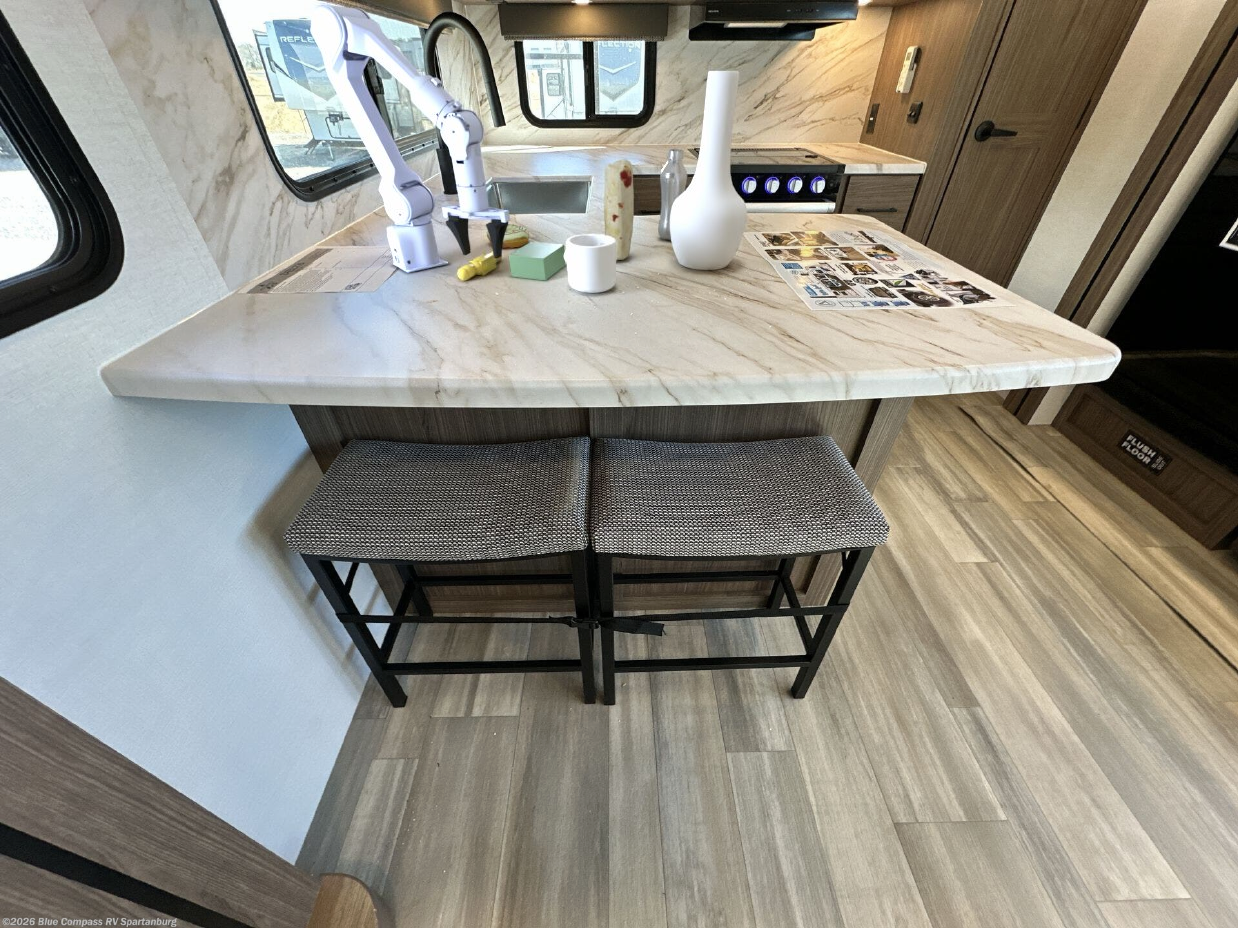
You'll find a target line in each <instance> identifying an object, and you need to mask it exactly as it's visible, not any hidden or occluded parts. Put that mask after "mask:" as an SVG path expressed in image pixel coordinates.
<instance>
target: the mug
mask: <svg viewBox="0 0 1238 928" xmlns="http://www.w3.org/2000/svg"><path fill="white" fill-rule="evenodd" d="M565 248H566V249H565V253H564V259H565V263H566V264H567V265H566V270H567V278H568V279H567V280H568V284H569V287H571V288H572V289H574V290H575V291H578V292H580V293H587V294H597V293H604V292H607V291H609V290H611V289H613V288H614V287H615V285H616V283H617V260H616V240H615V239H614V238H613V237H611V236H607V235H605V234H602V233H601V234H600V233H584V234H583V233H582V234H576V235H572V236H570V237H568V238H567V239H566V242H565Z"/></svg>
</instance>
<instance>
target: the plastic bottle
mask: <svg viewBox="0 0 1238 928" xmlns="http://www.w3.org/2000/svg"><path fill="white" fill-rule="evenodd" d="M666 155H667V156H666V159H667V162H666V163H665V165H664V166H663V167H662V169H661V171H660V175H659V177H660V178H659V179H660V189H661V190H660V191H661V207H660V214H659V220H658V226H657V233H658V235H659V237H660V238H661V239H663V240H667V241H668V240H669V241H671V234H670V214H671V209H672V206H673V203H674V202H675V200H676V199H677V198H678V197H679V196H680V195H681V194H682V193H683V192H684V191H686V186H687V185H686V184H687V180H688V173H687V170H686V167H685V165H684V164H683V160H684V149H680V148H669V149H667V154H666Z"/></svg>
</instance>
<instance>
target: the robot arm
mask: <svg viewBox="0 0 1238 928" xmlns="http://www.w3.org/2000/svg"><path fill="white" fill-rule="evenodd" d="M309 32H310V34H311V36H312V38H313V40H314V42H315V43H316V45H317V47H318V49H319V51H320V52H321V56H322V60H323V64H324V68H325V71H326V74H327V78H328V80H329V81H330V84H331V85H332V86H333V88H334V91H335V92H336V94H337V96H338V98H339V100H340V102H341V103H342V105H343V107H344V109H345V111H346V113H347V115H348V116H349V119H350V120H351V123H352V124H353V126H354V128H355V130H356V131H357V133H358V135H359V137H360V139H361V141H362V143H363V144H364V146H365V148H366V150H367V153H368V154H369V156H370V158H371V159H372V161H373V163H374V165H375V167H376V169H377V171H378V172H379V174H380V176H381V179H380V183H379V186H378V192H379V194H380V195H381V197H382V201H383V206H384V209H385V212H386V214H387V215H388V217H389V218H390V219H391V221H393V222H394V224H393V225H389V226H387V228H386V237H387V240H388V241H387V242H388V245H389V248H390V253H391V256H392V260H393V261H392V264H393V265H394V266H396V267H397V268H399V269H401V270H402V271H404V272H406V273H413V272H419V271H422V270H427V269H431V268H437V267H440V266H445V265H448V261H446V260H444V259H442V258H440V254H439V250H438V244H437V240H436V235H435V230H434V226H433V221H432V219H433V212H434V211H435V208H436V200H435V196H434V195H433V193H432V191H431V190H430V189H429V188H428V187H427V185H425V183H424V182H423V181H422V178H421V177H420V175H419V174H418V173H416V172H415V171H413V170H412V169H411V168H409V167H408V166H407V164H406V161H405V160H404V158H403V156H402V154H401V152H400V150H399V149H398V146H397V144H396V143H395V140H394V138H393V137H392V134H391V133H390V131H389V129H388V127H387V125H386V123H385V120H384V119H383V117H382V115H381V114H380V111H379V109H378V107H377V105H376V103H375V101H374V99H373V97H372V95H371V94H370V91H369V90H368V87H367V85H366V84H365V82H364V80H363V74H364V69H365V68H366V65H367V64H368V62H369V60H370V58H373V59H374V61H376V62H377V63H378V64H379V65H381V66H382V67H383V69H385V70H386V71H387V72H388V73H389V74H391V75H392V76H393V77H394V78H395V79H396V80H397V81H398V82H399V83H401V84H402V85H403V86H404V87H405V88H406V89H407V90H408V91H409V93H410V99H411V102H412V103H413V105H414V106H415V107H416V108H417V109H418V110H420V111H421V112H422V114H424V116H426V118H428V120H430V121H431V123H433V125H435V127H436V128H438V129H439V132H440V136H441V139H442V140H443V142H444V144H445V145H446V146H447V147H448V150H449V156H450V157H451V162H452V166H453V173H454V179H455V185H456V191H457V195H458V203H459V205H445V206H442V207H441V210H442V216H443V218H447V220H446V221H445V225H446V227H447V228H448V230H450V231H451V233H452V235H453V236H454V237H455V241H456V242H457V244H458V246H459V249H460V251H461V254H462V255H463V256H467V255H470V254H472V253H471V252H472V249H471V242H470V235H469V219H470V220H482V221H490V222H488V223H486V224H485V227H486V230H487V231H488V232H489V235H490V238H491V242H492V243H491V242H490V243H491V248H492V250H493V255H494V258H499V257H501V256H502V257H503V247H502V246H503V240H504V235H505V232H506V229H507V226H508V224H509V222H510V221H511V216H510V210H509V209H501V208H497V207H491V206H490V204H489V197H488V196H489V195H488V190H487V182H486V176H485V175H486V174H485V170H484V161H483V156H482V155H483V154H482V148H481V143H482V141H483V140H484V135H485V132H484V131H485V130H484V125H483V123H482V120H481V119H480V117H479V116H478V114H477V113H476V111H474V110H471V109H465V108H463V104H462V103H461V102H460V101H459V100H455V99H454V98H453V97H452V96H451V94H450V93H449V92H448V91H447V90H445V88H444V87H443V86H442V85H443V82H442V80H441V79H439V78H438V77H433V76H432V75H430V74H424V75H422V74H421V73H420V72H419V71H418V70H417V69H416V68H415V66H413V64H412V63H411V62H410V61H409V60H408V58H407V57H405V55H404V54H403V53H402V52H401V51H400V50H399V49H398V48H397V46H395V43H393V42H392V41H391V39H390V38H388V37H387V35H386V34H385V33H384V32H383V30H382V28H381V25H380V24H379V23H378V22H377V21H376V20H374V19H373V18H372V17H371V16H370V15H369V14H368V12H366V11H365V10H364V9H363V8H360V7H348V6H347V7H346V6H339V5H331V4H329V3H325V2H319V3H318V4H316V5H315V6H314V7H313V9H312V13H311V20H310V31H309Z"/></svg>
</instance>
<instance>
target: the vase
mask: <svg viewBox="0 0 1238 928" xmlns="http://www.w3.org/2000/svg"><path fill="white" fill-rule="evenodd" d="M706 79H707V80H706V89H705V101H704V112H703V119H702V120H703V122H702V131H701V138H700V147H699V154H698V158H697V164H696V167H695V172H694V175H693V177H692V179H691V182H690V183H689V185H688V187H687V188H685V191H684V192H683V193H682V194H681V195H680V196H679V197H678V198H677V199H676V200H675V202H674V203H673V206H672V209H671V214H670V234H671V240H670V241H671V245H672V249H673V253H674V255H675V257H676V259H677V261H678V264H680V265H681V266H682V267H686V268H689V269H692V270H700V271H713V270H714V271H715V270H716V271H717V270H720V269H725V268H726V267H728V266H729V264H730V263H731V262H732V260H733V258H734V257H735V256H736V254H737V252H738V249H739V247H740V245H741V243H742V240H743V237H744V234H745V231H746V226H747V222H748V221H747V220H748V209H747V205H746V203H745V200H744V199H743V198H742V196H740V194H738V191H736V188H735V187H734V185H733V181H732V176H731V175H732V174H731V154H732V153H731V151H732V140H733V131H734V130H733V129H734V121H735V114H736V104H737V97H738V90H739V82H740V81H739V80H740V71H738V70H708V73H707V78H706Z"/></svg>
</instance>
